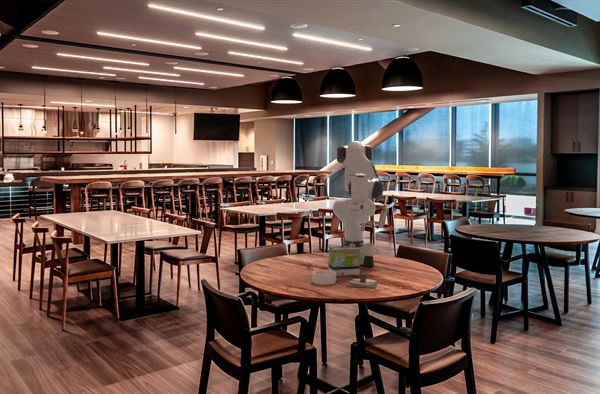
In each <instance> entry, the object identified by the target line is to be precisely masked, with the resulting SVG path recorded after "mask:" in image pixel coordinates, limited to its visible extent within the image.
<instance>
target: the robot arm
mask: <svg viewBox="0 0 600 394" xmlns="http://www.w3.org/2000/svg"><path fill="white" fill-rule="evenodd" d="M334 156H335V159H336V161H337V162H338V163H339V164H345V167H344V189H345V191H346V192H347V195H348V196H349V197H350V198H344V199H343V198H342V199H337V200H335V201H334V203H333V204H332V211H333V214H334V216H336V217H337V218H338V219H339V220H340V222H341V223H342V225H343V230H344V240H343V247H346V246H354V247H356V248H358V249H360V247H363V244H365V241H364V232H365V231H366V230H365V228H366V223H369V220H370V217H372V216H373V215H374V214H375V211H376V204H375V202H374V201H373V200H378V199H380V198H381V197H382V196H383V195H384V186H383V182H382V181H381V179H380V178H379V175H378V172H377V170H376V167H375V165H374V162H372V159H373V156H374V150H373V149H372V146H371V145H368V144H362V143H361V142H360V141H357V140H353V141H350V142H349V143H348V144H347V145H339V146H337V148H336V150H335V154H334ZM368 178H369V179H368ZM372 199H373V200H372ZM361 251H363V249H361ZM364 257H365V256H364V255H363V253H360V265H363V263H364Z"/></svg>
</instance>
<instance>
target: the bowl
mask: <svg viewBox="0 0 600 394" xmlns="http://www.w3.org/2000/svg"><path fill="white" fill-rule="evenodd" d="M311 277H312V278H311V281H312V283H314V284H315V285H323V286H325V285H327V286H328V285H334V284H336V283H337V276H336V272H335V271H331V270H328V269H319V270H318V269H317V270H313V271H312V272H311Z"/></svg>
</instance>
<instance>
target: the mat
mask: <svg viewBox="0 0 600 394" xmlns="http://www.w3.org/2000/svg"><path fill="white" fill-rule="evenodd" d="M352 279H353V278H350V280H352ZM373 280H374V281H376V284H375V285H372V286H356V285H352V284H350V281H349V282H348V283H347V285H346V287H348V288H358V289H359V288H361V289H362V288H364V289H376V288H377V286H378V282H379V281H378V280H375V279H373Z"/></svg>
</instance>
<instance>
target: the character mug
mask: <svg viewBox="0 0 600 394" xmlns="http://www.w3.org/2000/svg"><path fill="white" fill-rule="evenodd" d="M361 249H363V251H361ZM360 253H363V255H364V256H365V257H364V263H363V264H362V265H363V266H365V267H373V266H375V261H374V256H375V255H376V254H379V247H376V244H374V243H364V244H363V247H360Z"/></svg>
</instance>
